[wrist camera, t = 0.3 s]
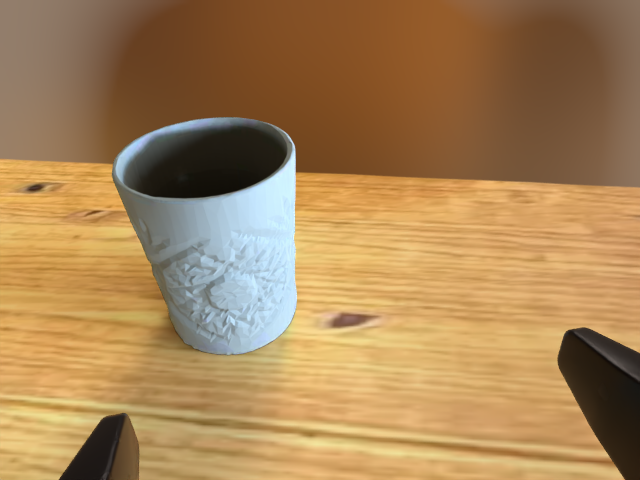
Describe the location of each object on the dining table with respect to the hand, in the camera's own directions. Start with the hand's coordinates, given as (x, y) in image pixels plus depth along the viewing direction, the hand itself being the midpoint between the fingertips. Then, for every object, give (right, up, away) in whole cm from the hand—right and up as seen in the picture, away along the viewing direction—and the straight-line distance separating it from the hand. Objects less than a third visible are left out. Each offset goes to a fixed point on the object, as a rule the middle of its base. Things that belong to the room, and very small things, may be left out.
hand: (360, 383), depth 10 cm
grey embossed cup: (-7, -2, +25) cm, 26 cm away
